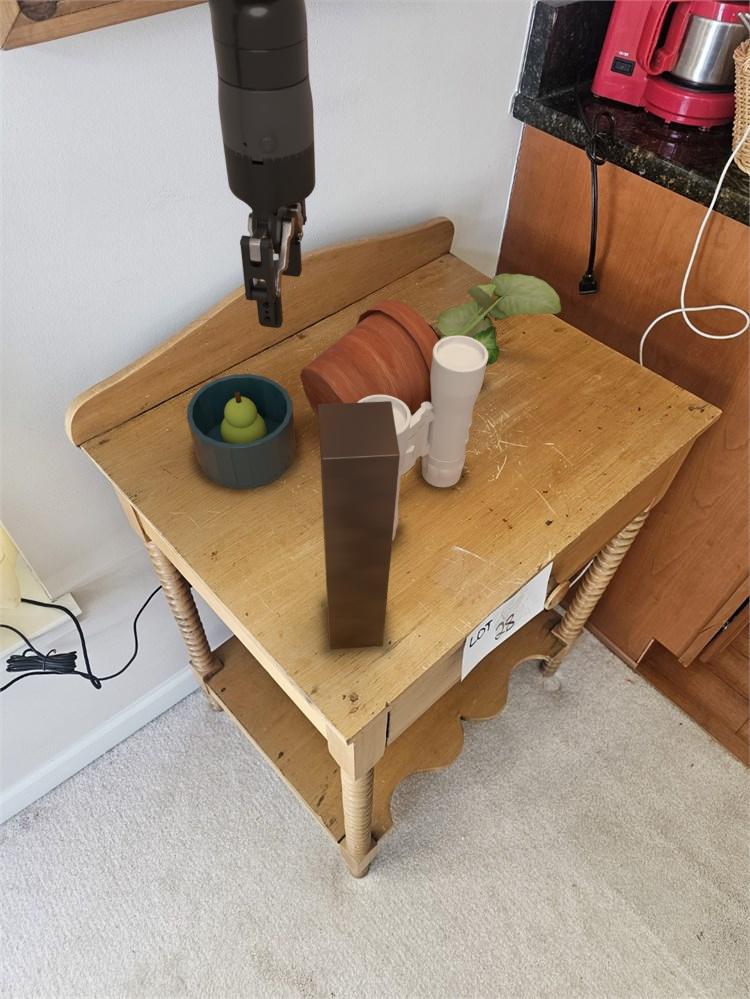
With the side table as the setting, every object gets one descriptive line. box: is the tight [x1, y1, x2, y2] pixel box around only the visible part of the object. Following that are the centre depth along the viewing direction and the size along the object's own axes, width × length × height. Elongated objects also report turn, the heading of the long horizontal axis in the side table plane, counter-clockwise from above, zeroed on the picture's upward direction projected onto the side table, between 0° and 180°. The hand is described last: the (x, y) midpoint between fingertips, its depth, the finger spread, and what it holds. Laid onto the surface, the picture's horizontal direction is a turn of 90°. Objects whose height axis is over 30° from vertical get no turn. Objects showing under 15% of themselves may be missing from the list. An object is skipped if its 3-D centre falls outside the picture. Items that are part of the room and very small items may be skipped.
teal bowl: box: [186, 373, 297, 490], centre depth 81 cm, size 12×12×7 cm
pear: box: [221, 392, 266, 444], centre depth 79 cm, size 5×5×9 cm
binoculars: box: [357, 335, 488, 542], centre depth 73 cm, size 17×5×18 cm, turn 138°
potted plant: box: [299, 272, 562, 420], centre depth 87 cm, size 16×15×35 cm
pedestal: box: [318, 401, 400, 651], centre depth 59 cm, size 5×5×28 cm
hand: (281, 298), depth 70 cm, fingers open, 8 cm apart
